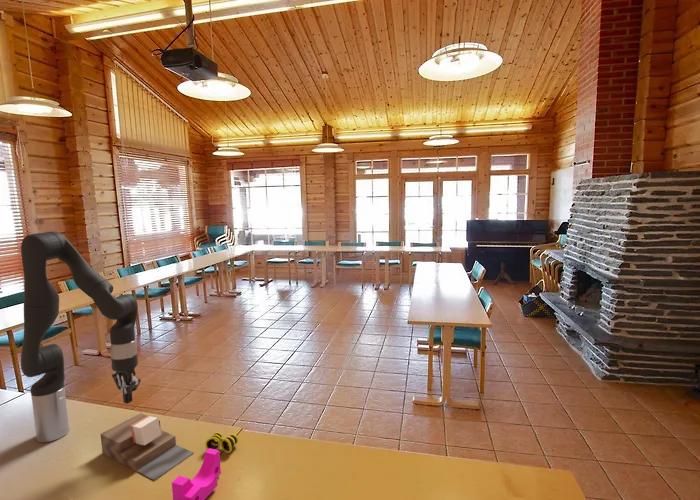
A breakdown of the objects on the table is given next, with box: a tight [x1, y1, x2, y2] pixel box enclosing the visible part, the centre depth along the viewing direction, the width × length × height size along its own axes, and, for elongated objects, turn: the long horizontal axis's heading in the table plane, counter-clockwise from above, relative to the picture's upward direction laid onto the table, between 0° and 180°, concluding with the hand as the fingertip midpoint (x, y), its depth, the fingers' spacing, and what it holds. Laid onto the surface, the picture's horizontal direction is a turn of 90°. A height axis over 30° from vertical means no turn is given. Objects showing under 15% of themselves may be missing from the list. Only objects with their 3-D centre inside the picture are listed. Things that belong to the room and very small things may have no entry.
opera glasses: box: [204, 431, 239, 454], centre depth 124 cm, size 10×5×5 cm, turn 78°
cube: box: [130, 415, 162, 446], centre depth 122 cm, size 6×6×6 cm
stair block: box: [100, 412, 195, 482], centre depth 122 cm, size 28×14×7 cm, turn 62°
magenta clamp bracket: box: [171, 448, 222, 500], centre depth 106 cm, size 15×6×8 cm, turn 161°
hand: (128, 402), depth 125 cm, fingers closed
